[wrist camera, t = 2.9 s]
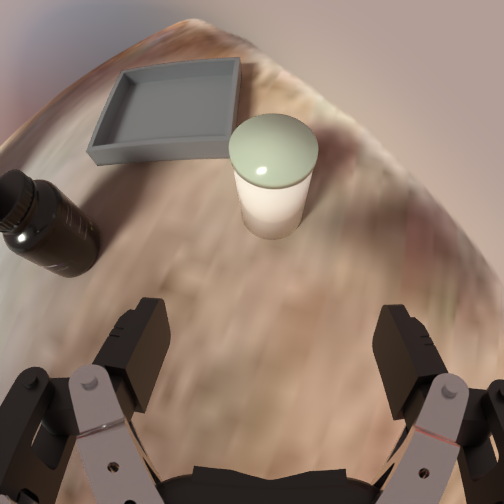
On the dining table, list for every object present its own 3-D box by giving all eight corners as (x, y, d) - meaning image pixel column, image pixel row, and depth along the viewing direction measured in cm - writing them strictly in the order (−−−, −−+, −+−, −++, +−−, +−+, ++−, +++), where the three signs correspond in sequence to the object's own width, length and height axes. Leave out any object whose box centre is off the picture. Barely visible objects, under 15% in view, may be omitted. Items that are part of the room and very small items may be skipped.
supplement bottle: (61, 291, 27) (-22, 255, 16) (47, 238, 29) (-24, 190, 18) (111, 258, 28) (37, 204, 16) (93, 206, 30) (30, 142, 18)
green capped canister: (238, 240, 28) (225, 182, 18) (242, 184, 30) (232, 113, 20) (303, 241, 27) (321, 184, 18) (302, 185, 29) (315, 115, 20)
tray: (97, 165, 31) (86, 151, 29) (128, 85, 36) (121, 70, 33) (233, 158, 31) (230, 140, 28) (241, 74, 35) (240, 57, 32)
